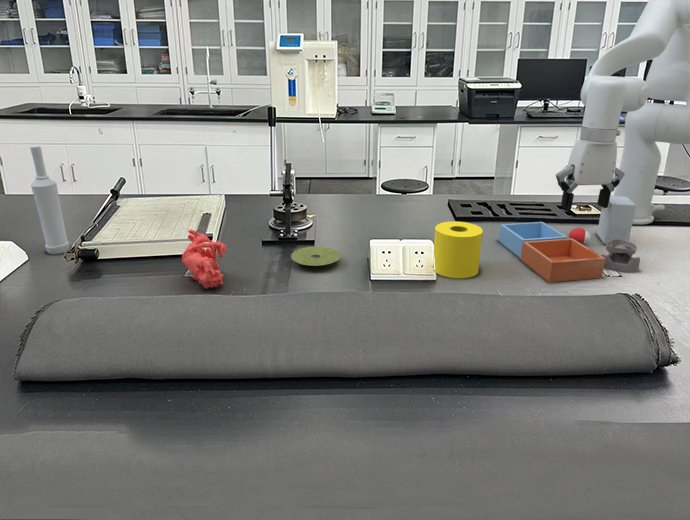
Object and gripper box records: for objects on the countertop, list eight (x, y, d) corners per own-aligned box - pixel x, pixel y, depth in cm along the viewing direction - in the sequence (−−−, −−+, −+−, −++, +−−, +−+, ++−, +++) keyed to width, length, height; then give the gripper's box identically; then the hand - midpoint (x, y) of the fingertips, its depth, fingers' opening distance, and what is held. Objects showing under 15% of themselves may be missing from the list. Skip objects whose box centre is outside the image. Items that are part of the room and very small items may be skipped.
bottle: (75, 248, 129) (53, 145, 119) (56, 256, 125) (32, 149, 115) (60, 245, 131) (37, 143, 121) (41, 252, 127) (16, 147, 117)
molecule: (567, 245, 131) (570, 229, 130) (567, 239, 135) (570, 223, 134) (589, 248, 129) (592, 232, 128) (589, 242, 134) (592, 226, 132)
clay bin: (569, 256, 125) (572, 238, 123) (601, 277, 114) (605, 258, 112) (520, 259, 123) (522, 241, 121) (548, 282, 112) (552, 262, 110)
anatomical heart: (212, 302, 106) (191, 254, 100) (182, 284, 114) (162, 238, 108) (246, 279, 111) (229, 231, 105) (216, 263, 119) (198, 218, 113)
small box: (627, 246, 131) (637, 205, 127) (603, 244, 132) (611, 204, 128) (619, 235, 138) (627, 196, 134) (596, 233, 139) (603, 195, 135)
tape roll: (451, 281, 112) (454, 240, 108) (423, 265, 120) (426, 225, 116) (487, 272, 116) (492, 232, 112) (458, 257, 124) (462, 219, 121)
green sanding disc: (318, 250, 128) (317, 242, 128) (350, 263, 121) (351, 255, 120) (281, 262, 121) (280, 255, 120) (313, 277, 114) (313, 269, 113)
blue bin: (540, 238, 136) (542, 221, 134) (564, 254, 126) (568, 237, 124) (498, 241, 134) (500, 224, 132) (520, 258, 124) (522, 240, 122)
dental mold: (639, 264, 121) (644, 243, 119) (636, 274, 115) (641, 253, 113) (601, 257, 125) (605, 237, 123) (596, 266, 119) (601, 246, 117)
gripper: (620, 132, 127) (606, 201, 133) (554, 133, 124) (543, 204, 130) (642, 137, 120) (626, 210, 126) (573, 138, 117) (560, 213, 123)
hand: (584, 207), depth 128 cm, fingers open, 9 cm apart
